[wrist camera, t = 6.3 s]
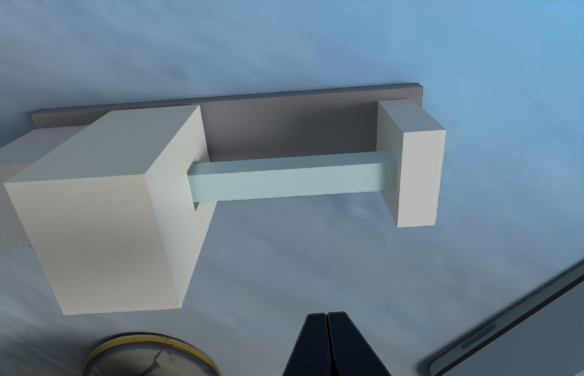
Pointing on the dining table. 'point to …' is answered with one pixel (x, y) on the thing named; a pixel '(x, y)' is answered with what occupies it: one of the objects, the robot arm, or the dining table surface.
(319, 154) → the grey piece
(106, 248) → the white block
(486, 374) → the smartphone
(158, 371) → the apothecary jar
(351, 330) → the robot arm
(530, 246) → the dining table surface
